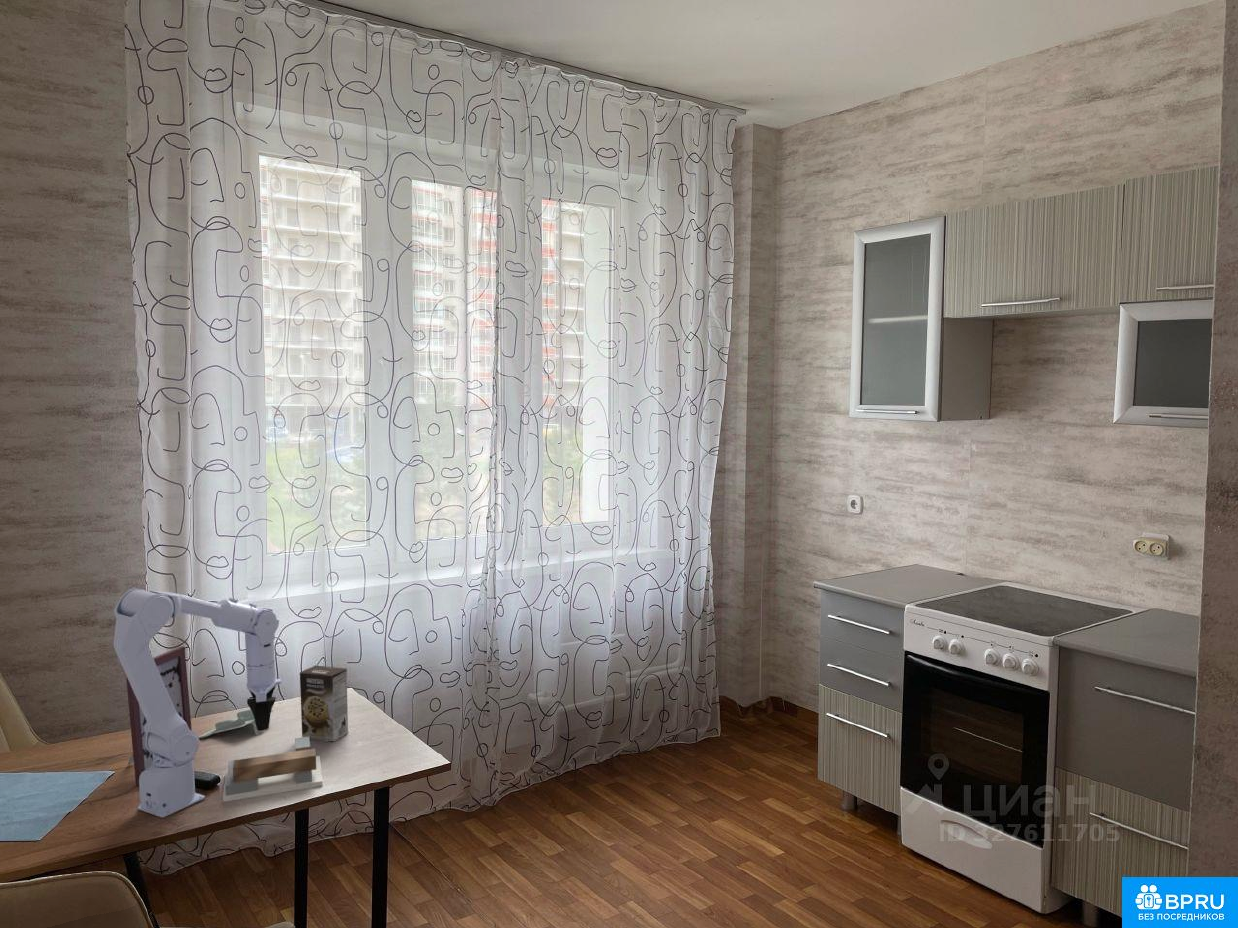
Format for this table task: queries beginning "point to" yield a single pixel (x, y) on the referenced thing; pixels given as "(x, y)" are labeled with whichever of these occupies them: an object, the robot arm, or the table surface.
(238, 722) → the metal bracket
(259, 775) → the walnut bar
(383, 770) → the table surface
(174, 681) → the picture frame
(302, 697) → the coffee box
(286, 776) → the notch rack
